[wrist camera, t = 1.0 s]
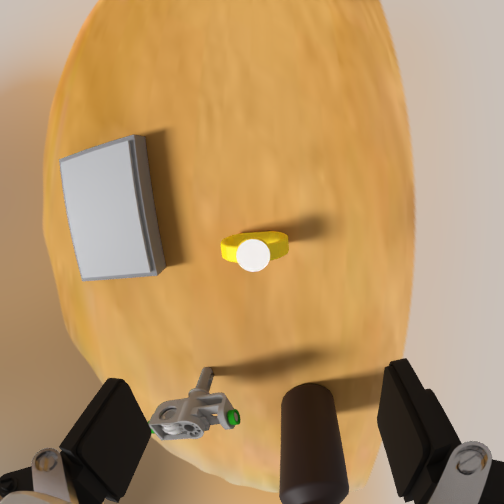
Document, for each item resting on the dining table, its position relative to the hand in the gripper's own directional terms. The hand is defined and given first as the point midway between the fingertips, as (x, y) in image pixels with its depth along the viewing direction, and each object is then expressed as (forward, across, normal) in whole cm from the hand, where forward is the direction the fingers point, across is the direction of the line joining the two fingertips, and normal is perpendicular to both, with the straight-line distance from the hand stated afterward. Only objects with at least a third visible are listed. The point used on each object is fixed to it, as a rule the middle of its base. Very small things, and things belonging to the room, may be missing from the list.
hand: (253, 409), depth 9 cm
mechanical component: (+21, +10, +14) cm, 27 cm away
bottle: (+21, -2, +21) cm, 30 cm away
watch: (+21, +1, -1) cm, 21 cm away
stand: (+21, +16, -7) cm, 27 cm away
